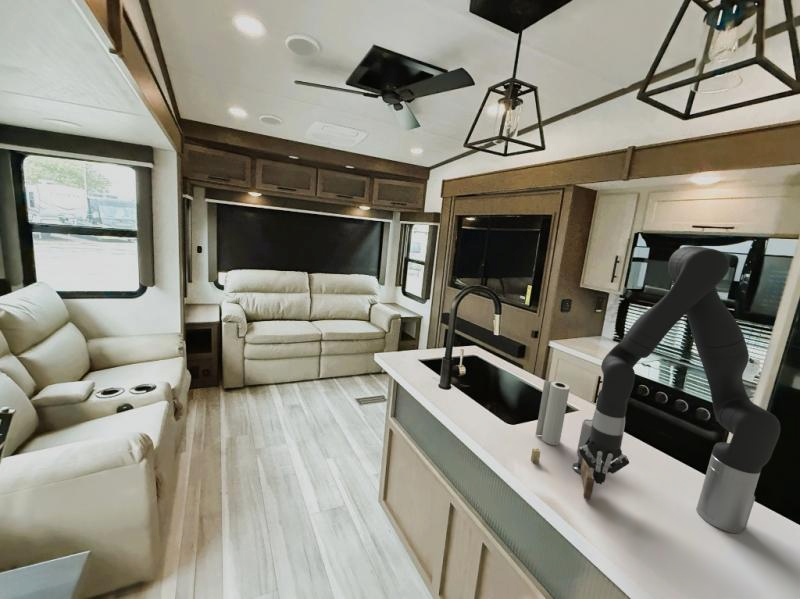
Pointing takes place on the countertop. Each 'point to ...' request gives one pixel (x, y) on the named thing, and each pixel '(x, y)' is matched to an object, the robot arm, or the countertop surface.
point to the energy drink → (585, 435)
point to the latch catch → (535, 455)
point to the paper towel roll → (552, 411)
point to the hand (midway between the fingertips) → (598, 482)
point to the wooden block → (587, 480)
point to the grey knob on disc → (578, 464)
